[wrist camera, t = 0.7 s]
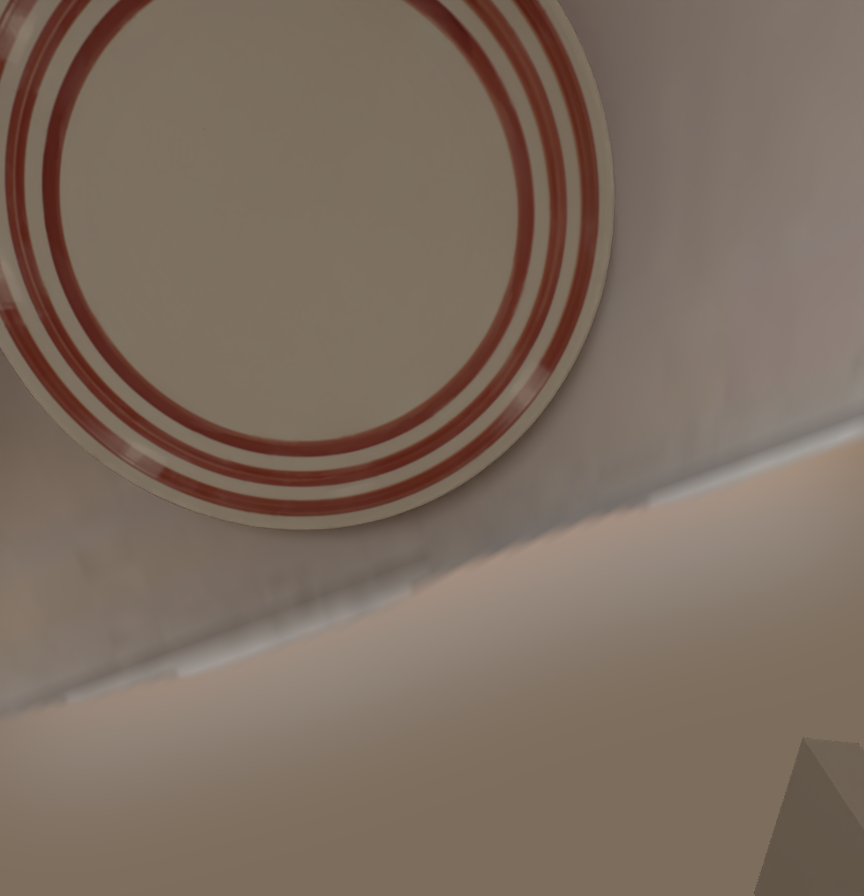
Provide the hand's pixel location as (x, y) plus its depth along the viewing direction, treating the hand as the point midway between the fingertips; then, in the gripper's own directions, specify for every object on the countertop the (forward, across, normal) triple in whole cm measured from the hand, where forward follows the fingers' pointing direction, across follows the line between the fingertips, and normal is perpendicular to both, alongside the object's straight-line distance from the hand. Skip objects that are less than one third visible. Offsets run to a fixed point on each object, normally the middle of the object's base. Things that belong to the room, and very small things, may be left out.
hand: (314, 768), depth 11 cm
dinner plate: (+28, -6, +6) cm, 29 cm away
